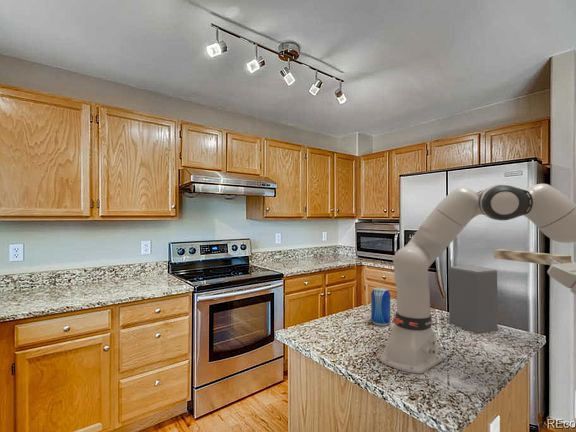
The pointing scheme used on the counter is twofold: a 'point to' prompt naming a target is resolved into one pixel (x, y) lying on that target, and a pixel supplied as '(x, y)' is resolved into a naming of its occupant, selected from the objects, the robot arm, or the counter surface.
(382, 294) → the beer can
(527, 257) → the maple bar
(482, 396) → the counter surface
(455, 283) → the charcoal stand
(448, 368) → the counter surface
